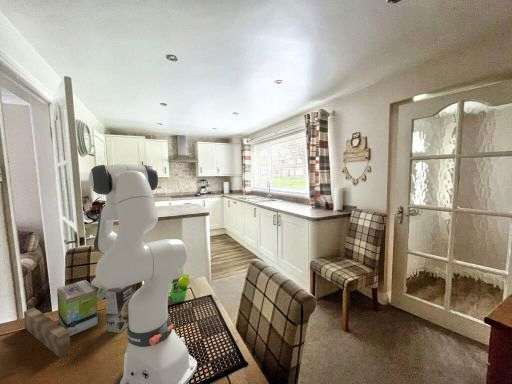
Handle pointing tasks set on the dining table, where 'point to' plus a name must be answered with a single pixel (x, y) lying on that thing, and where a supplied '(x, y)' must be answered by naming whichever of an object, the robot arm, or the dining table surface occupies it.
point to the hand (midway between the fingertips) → (96, 300)
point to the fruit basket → (180, 289)
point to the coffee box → (118, 307)
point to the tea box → (77, 306)
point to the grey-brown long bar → (47, 331)
